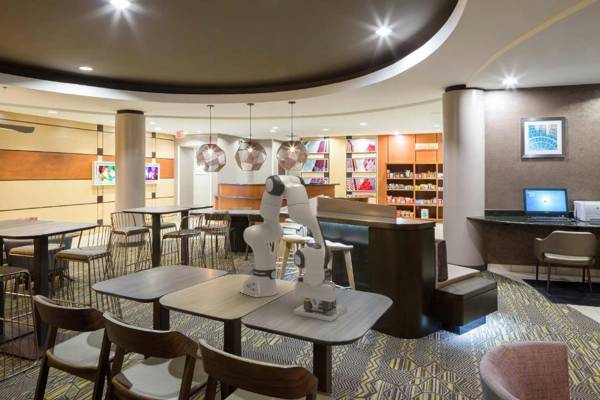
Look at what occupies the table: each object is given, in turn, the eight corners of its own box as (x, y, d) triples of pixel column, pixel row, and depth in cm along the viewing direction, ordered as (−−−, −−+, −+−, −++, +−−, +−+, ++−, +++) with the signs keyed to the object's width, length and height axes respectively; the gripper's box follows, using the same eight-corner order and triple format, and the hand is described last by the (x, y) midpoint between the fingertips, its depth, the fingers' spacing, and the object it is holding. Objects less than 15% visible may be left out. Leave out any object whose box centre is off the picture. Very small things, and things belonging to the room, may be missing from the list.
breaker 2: (327, 305, 183) (327, 296, 183) (330, 303, 186) (330, 294, 186) (332, 306, 181) (332, 297, 181) (336, 304, 184) (336, 295, 184)
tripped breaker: (303, 309, 178) (303, 299, 178) (307, 307, 181) (307, 297, 181) (309, 310, 177) (309, 300, 176) (313, 308, 180) (312, 297, 179)
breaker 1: (322, 309, 179) (322, 298, 178) (326, 306, 182) (325, 296, 181) (328, 310, 177) (327, 299, 177) (331, 307, 180) (331, 297, 180)
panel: (293, 313, 180) (293, 309, 180) (311, 304, 193) (310, 300, 193) (331, 321, 169) (331, 316, 169) (346, 310, 183) (346, 306, 183)
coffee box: (323, 303, 194) (322, 272, 193) (312, 301, 198) (312, 270, 197) (332, 298, 202) (332, 268, 201) (322, 296, 205) (322, 267, 205)
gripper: (338, 279, 173) (338, 309, 174) (300, 274, 184) (300, 302, 185) (332, 283, 168) (332, 314, 169) (293, 277, 179) (293, 306, 180)
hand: (315, 308), depth 177 cm, fingers closed
